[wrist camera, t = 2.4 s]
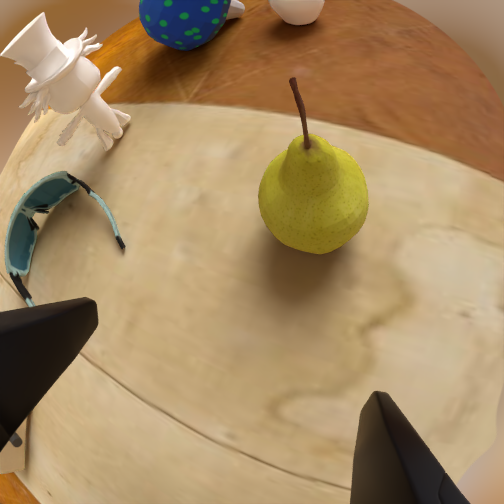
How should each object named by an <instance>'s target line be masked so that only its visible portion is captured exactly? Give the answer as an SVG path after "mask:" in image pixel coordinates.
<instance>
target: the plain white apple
mask: <svg viewBox="0 0 504 504" xmlns="http://www.w3.org/2000/svg"><path fill="white" fill-rule="evenodd" d="M268 1H269V3H270V5H271V7H272V8H273V9H274V10H275V12H276V13H277V14H278V15H279V16H280V17H281V18H282V19H283V20H284V21H285V22H287V23H289V24H293V25H305V24H309V23H312V22H313V21H315V20H316V19H317V18H318V16H319V14H320V11H321V9H322V7H323V4H324V0H268Z"/></svg>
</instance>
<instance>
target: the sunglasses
mask: <svg viewBox="0 0 504 504" xmlns="http://www.w3.org/2000/svg"><path fill="white" fill-rule="evenodd" d="M80 185H81V186H82V187H83V188H84V189H86V191H87V193H88V194H89V196H91V197H93V198H94V199H95V200H97V201H98V202H99V204H100V205H101V206H102V208H103V209H104V211H105V213H106V214H107V216H108V218H109V220H110V222H111V225H112V227H113V230H114V233H115V237H116V240H117V242H118V243H119V245H120V247H121V249H123V248H124V247H125V245H124V243H123V241H122V239H121V236H120V233H119V230H118V227H117V224H116V221H115V219H114V217H113V215H112V213H111V211H110V209H109V208H108V206H107V205H106V204H105V202H104V201H103V199H102V198H100V197H99V196H98V195H97V194H95V192H94V191H93V190H92V189H91V188H89V187H88V186H87V185H86V184H85V183H84V182H83V181H81V180H79V179H77V178H75V177H74V176H72V175H70V174H68V173H67V171H60V172H56V173H53V174H51V175H48V176H46V177H44V178H43V179H41V180H40V181H38V182H37V183H36V184H34V185H33V186H32V187H31V188H30V189H29V190H28V191H27V192H26V193H24V194H23V196H22V197H21V199H20V201H19V202H18V204H17V205H16V207H15V209H14V211H13V213H12V215H11V220H10V222H9V225H8V229H7V234H6V240H5V265H6V270H7V274H8V273H10V277H11V279H12V280H13V282H14V284H15V286H16V287H17V289H18V291H19V292H20V294H21V295H22V297H23V298H24V299H25V301H26V302H27V304H28V306H29V307H33V306H35V304H34V302H33V301H32V299H31V298H32V297H31V295H30V294H29V292H28V291H27V289H26V288H25V286H24V285H23V283H22V280H21V278H20V277H21V276H25V275H26V274H27V273H28V271H29V268H30V262H31V257H32V253H33V249H34V246H35V243H36V240H37V230H39V227H38V225H37V224H36V223H35V221H34V220H33V219H32V217H33V216H34V214H35V212H37V213H46V214H48V213H49V211H45V210H48V209H50V208H52V207H54V206H56V205H58V204H59V203H60V202H61V201H62V200H63V199H64V198H65V197H67V196H68V195H70V194H71V193H73V192H75V191H76V190H78V189H79V187H80Z"/></svg>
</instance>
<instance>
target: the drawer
mask: <svg viewBox="0 0 504 504" xmlns="http://www.w3.org/2000/svg"><path fill="white" fill-rule="evenodd" d="M26 421H27V418H26V419H25V420H24V421H23V423H22V424H21V425H20V427H19V428H18V429H17V431H16V432H15V433H14V434H13V436H12V437H11V438H10V440H9V441H8V443H7V444H6V446H5V447H4V448H3V450H2V451H1V452H0V473H1V474H5V473H11V472H15V471H20V470H25V435H26Z"/></svg>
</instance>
